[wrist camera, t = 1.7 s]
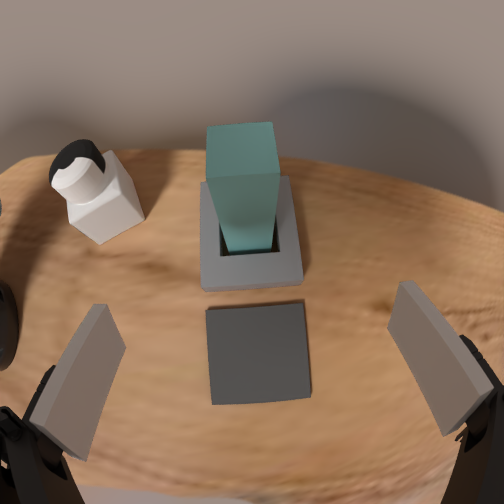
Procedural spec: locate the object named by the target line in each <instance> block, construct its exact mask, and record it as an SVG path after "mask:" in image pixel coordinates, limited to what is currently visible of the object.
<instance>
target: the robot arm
mask: <svg viewBox="0 0 504 504" xmlns="http://www.w3.org/2000/svg"><path fill="white" fill-rule="evenodd" d="M1 211H2V205H1V200H0V216H1ZM387 329H388V330H389V332H390V334H391V336H392V337H393V339H394V341H395V343H396V344H397V346H398V348H399V350H400V351H401V353H402V355H403V357H404V359H405V360H406V362H407V364H408V366H409V368H410V370H411V372H412V373H413V375H414V377H415V379H416V381H417V383H418V385H419V387H420V389H421V391H422V393H423V395H424V397H425V399H426V401H427V403H428V405H429V407H430V409H431V411H432V413H433V416H434V418H435V420H436V422H437V424H438V426H439V429H440V431H441V433H442V435H443V437H444V436H446V435H448V434H450V433H452V432H454V431H456V430H458V429H459V428H460V426H461V425H462V424H463V423H464V422H466V424H467V427H466V428H465V429H464V430H463V431H462V432H461V433H460V434H459V435H458V436H457V437H456V439H455V441H458V440H459V439H460V438H461V437H462V436H463V437H462V439H461V440H460V442H461V445H460V449H459V453H458V456H457V460H456V463H455V466H454V469H453V472H452V475H451V478H450V481H449V484H448V486H447V489H446V491H445V494H444V496H443V499H442V501H441V504H504V386H503V385H502V383H501V382H500V381H499V379H498V378H497V376H496V375H495V373H494V372H493V370H492V369H491V367H490V366H489V364H488V363H487V361H486V360H485V359H483V356H482V354H481V353H480V352H478V349H477V348H476V346H475V345H474V344H473V342H472V341H471V340H469V339H468V338H467V337H465V336H464V335H460V336H458V335H457V333H456V332H455V331H454V329H453V328H452V327H451V325H450V324H449V323H448V322H447V320H446V319H445V318H444V317H443V315H442V314H441V313H440V312H439V310H438V309H437V308H436V307H435V305H434V304H433V303H432V302H431V301H430V300H429V298H428V297H427V296H426V295H425V294H424V292H423V291H422V290H421V289H420V288H419V287H418V286H417V284H416V283H415V282H414V281H413V280H411V281H405V282H400V283H399V287H398V291H397V295H396V299H395V303H394V306H393V310H392V314H391V317H390V321H389V324H388V327H387ZM17 338H18V317H17V309H16V304H15V300H14V297H13V294H12V292H11V290H10V288H9V286H8V285H7V284H6V283H5V282H4V281H2V280H0V371H2V370H5V369H6V368H7V367H8V366H9V365H10V363H11V362H12V360H13V357H14V354H15V351H16V346H17ZM125 349H126V346H125V344H124V342H123V340H122V337H121V335H120V333H119V331H118V329H117V327H116V324H115V322H114V320H113V317H112V315H111V313H110V310H109V308H108V305H107V304H93V306H92V307H91V309H90V310H89V312H88V314H87V315H86V317H85V318H84V320H83V321H82V323H81V324H80V326H79V328H78V329H77V331H76V333H75V334H74V336H73V337H72V339H71V341H70V342H69V344H68V346H67V348H66V349H65V351H64V353H63V355H62V356H61V358H60V360H59V362H58V363H57V365H53V366H52V367H51V368H50V369H49V370H48V371H47V372H46V373H45V374H44V376H43V378H42V380H41V382H40V383H41V384H39V386H38V388H37V392H35V393H34V395H33V397H32V399H31V401H30V404H29V406H28V408H27V410H26V412H25V414H24V416H23V418H22V420H21V419H20V418H19V417H18V416H17V415H16V414H15V413H14V412H13V411H12V410H11V409H10V408H9V407H6V406H2V407H0V504H85V503H84V501H83V499H82V497H81V495H80V492H79V490H78V488H77V486H76V484H75V482H74V479H73V477H72V475H71V472H70V470H69V467H68V465H67V462H66V460H65V458H64V456H63V455H62V453H63V451H65V452H66V453H67V454H68V455H70V456H71V457H73V458H76V459H79V460H82V461H85V462H86V461H87V458H88V454H89V451H90V447H91V444H92V441H93V437H94V434H95V431H96V428H97V425H98V422H99V419H100V416H101V413H102V410H103V407H104V404H105V401H106V398H107V396H108V393H109V390H110V387H111V385H112V382H113V379H114V377H115V374H116V372H117V369H118V366H119V364H120V361H121V359H122V356H123V354H124V352H125ZM1 460H2V461H4V462H5V463H6V464H7V468H4V467H3V466H1Z"/></svg>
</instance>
